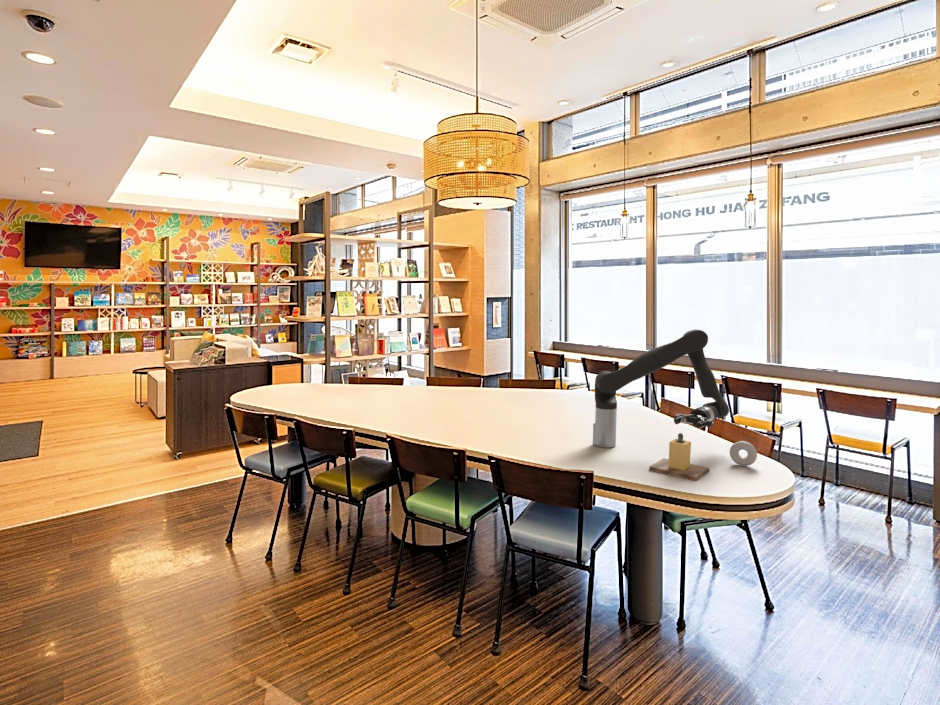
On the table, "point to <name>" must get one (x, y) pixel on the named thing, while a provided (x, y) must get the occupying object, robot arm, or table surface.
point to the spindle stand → (690, 473)
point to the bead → (679, 454)
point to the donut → (747, 447)
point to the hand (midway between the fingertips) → (686, 423)
